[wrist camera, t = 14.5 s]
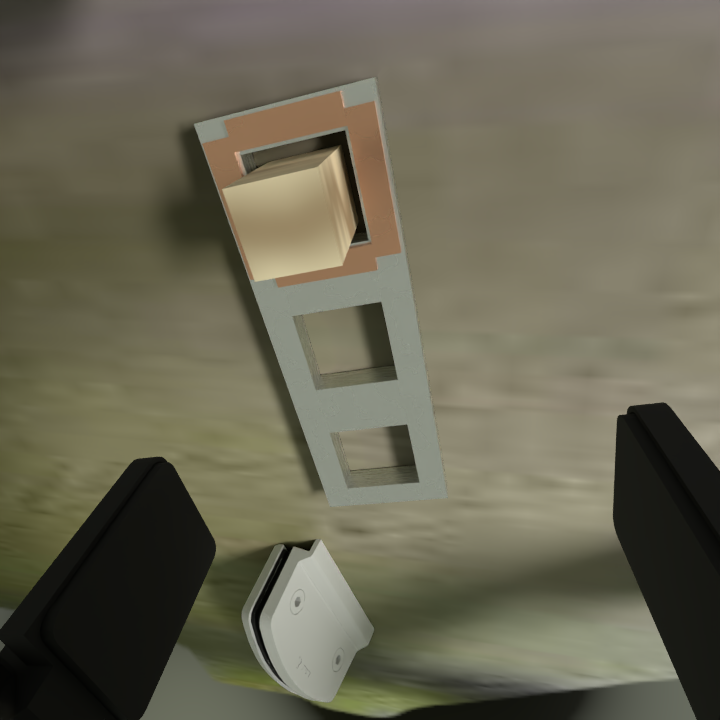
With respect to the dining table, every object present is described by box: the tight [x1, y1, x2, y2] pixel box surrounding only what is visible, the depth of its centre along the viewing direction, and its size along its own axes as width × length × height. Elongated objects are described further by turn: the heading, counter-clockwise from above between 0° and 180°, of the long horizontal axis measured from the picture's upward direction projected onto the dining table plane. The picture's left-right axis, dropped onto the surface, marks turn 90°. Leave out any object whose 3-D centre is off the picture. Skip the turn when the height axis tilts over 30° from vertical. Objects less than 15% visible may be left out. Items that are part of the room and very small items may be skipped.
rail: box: [194, 77, 448, 507], centre depth 32 cm, size 30×10×2 cm, turn 12°
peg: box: [222, 144, 359, 282], centre depth 25 cm, size 4×4×8 cm
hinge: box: [242, 539, 374, 702], centre depth 47 cm, size 17×5×10 cm, turn 20°
